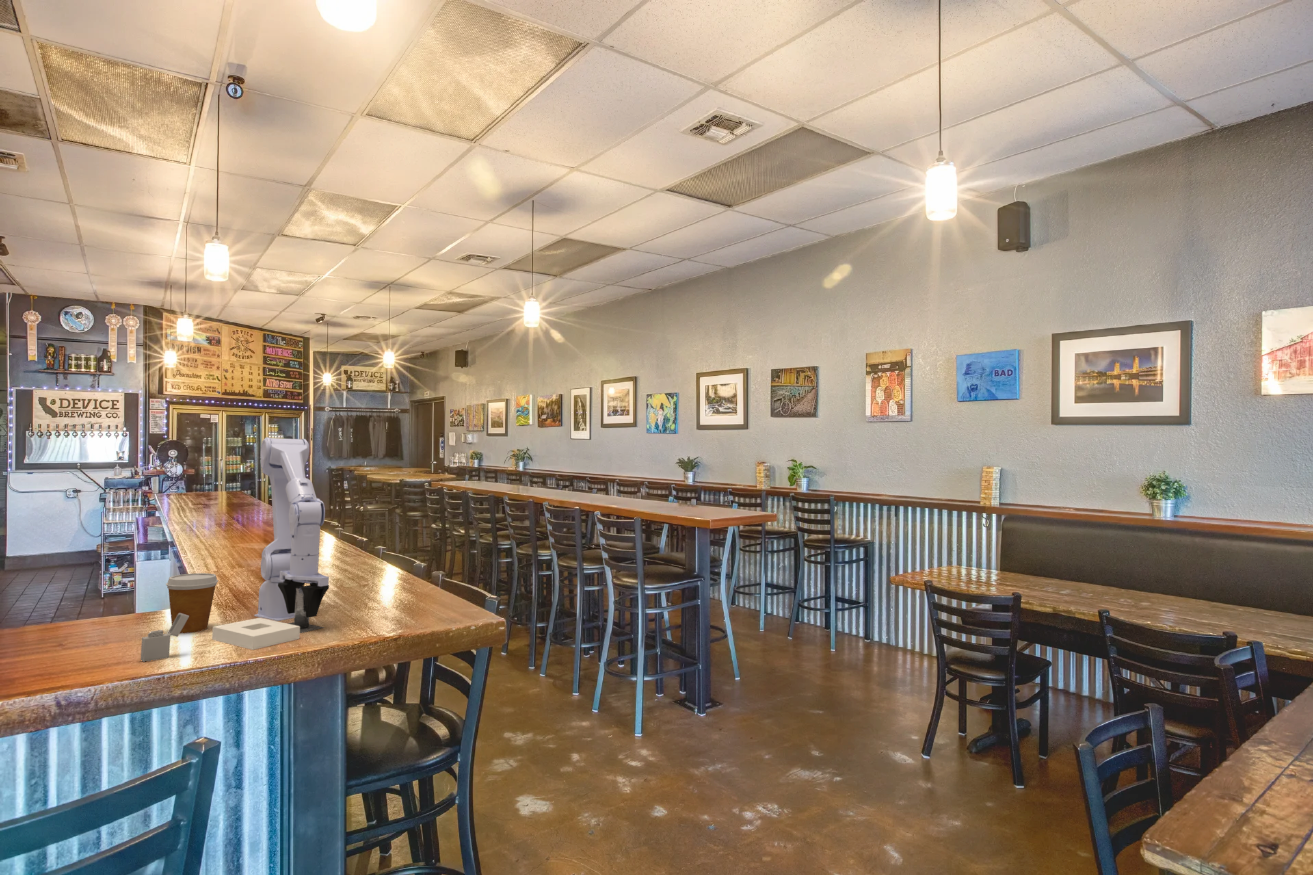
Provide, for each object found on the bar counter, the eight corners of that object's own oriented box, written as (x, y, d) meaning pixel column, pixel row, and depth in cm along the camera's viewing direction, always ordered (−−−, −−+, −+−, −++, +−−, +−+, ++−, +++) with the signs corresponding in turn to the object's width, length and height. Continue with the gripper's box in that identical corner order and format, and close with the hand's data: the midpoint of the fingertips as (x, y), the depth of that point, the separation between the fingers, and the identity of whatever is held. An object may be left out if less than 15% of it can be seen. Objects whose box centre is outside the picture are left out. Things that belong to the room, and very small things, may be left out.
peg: (290, 628, 152) (292, 587, 152) (303, 625, 154) (305, 586, 155) (299, 630, 150) (301, 589, 151) (311, 627, 153) (313, 587, 153)
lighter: (143, 662, 126) (146, 619, 126) (140, 660, 127) (142, 617, 127) (187, 654, 132) (189, 613, 132) (183, 652, 133) (186, 611, 133)
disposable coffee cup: (225, 629, 150) (228, 575, 151) (180, 639, 142) (183, 581, 142) (198, 624, 154) (201, 571, 155) (153, 633, 146) (156, 577, 146)
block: (211, 641, 141) (212, 626, 141) (259, 631, 150) (259, 617, 150) (252, 651, 134) (253, 636, 134) (299, 640, 143) (299, 626, 143)
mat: (263, 630, 151) (263, 628, 151) (296, 623, 158) (296, 621, 158) (291, 636, 146) (291, 635, 146) (324, 629, 153) (324, 627, 153)
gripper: (268, 553, 153) (265, 613, 152) (309, 559, 146) (306, 622, 145) (297, 550, 159) (294, 608, 158) (338, 555, 152) (335, 616, 152)
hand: (302, 614), depth 152 cm, fingers open, 6 cm apart
